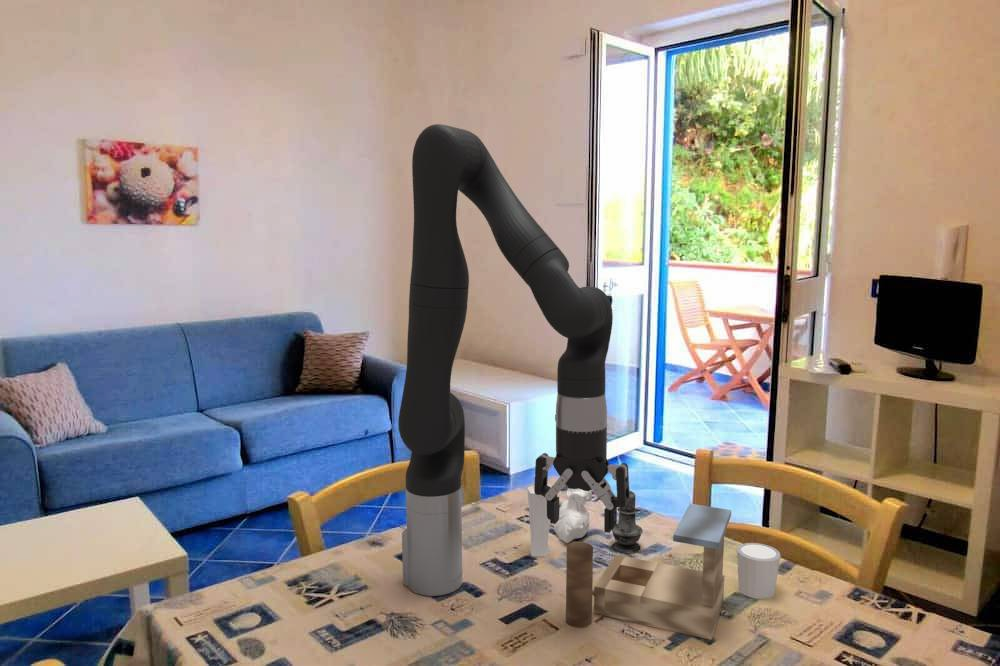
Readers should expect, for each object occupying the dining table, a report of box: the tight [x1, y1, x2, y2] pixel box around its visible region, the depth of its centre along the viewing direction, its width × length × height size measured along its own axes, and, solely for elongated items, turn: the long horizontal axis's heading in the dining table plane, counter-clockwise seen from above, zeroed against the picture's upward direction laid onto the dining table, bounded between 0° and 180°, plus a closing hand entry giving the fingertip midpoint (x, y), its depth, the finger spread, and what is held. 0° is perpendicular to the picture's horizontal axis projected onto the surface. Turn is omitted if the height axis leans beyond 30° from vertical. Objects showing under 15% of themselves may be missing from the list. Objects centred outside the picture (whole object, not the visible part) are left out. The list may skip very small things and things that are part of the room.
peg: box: [565, 541, 594, 629], centre depth 113 cm, size 4×4×12 cm
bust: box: [553, 488, 593, 544], centre depth 143 cm, size 12×8×11 cm
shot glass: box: [736, 542, 781, 600], centre depth 122 cm, size 7×7×7 cm
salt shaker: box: [611, 487, 644, 555], centre depth 138 cm, size 6×6×12 cm
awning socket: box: [593, 503, 732, 641], centre depth 116 cm, size 18×13×16 cm
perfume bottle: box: [527, 473, 551, 558], centre depth 135 cm, size 5×4×15 cm
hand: (581, 526), depth 111 cm, fingers open, 8 cm apart
